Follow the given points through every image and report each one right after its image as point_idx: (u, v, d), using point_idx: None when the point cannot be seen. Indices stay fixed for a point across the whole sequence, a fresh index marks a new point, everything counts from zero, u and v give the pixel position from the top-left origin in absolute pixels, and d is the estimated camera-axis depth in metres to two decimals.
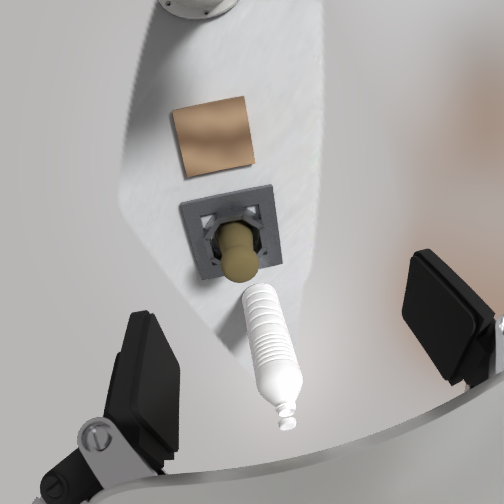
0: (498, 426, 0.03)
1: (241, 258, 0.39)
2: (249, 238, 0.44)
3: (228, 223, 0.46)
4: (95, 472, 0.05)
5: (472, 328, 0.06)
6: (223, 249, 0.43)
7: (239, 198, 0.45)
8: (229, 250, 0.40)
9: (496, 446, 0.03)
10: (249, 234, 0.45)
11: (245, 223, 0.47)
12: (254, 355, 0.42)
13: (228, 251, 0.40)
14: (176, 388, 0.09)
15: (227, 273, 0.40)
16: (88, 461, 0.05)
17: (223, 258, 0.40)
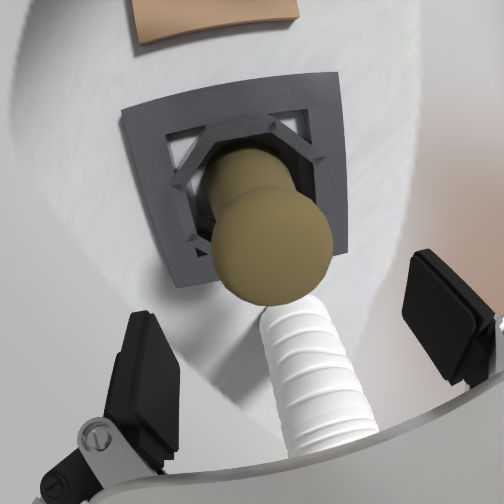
0: (498, 426, 0.03)
1: (284, 226, 0.11)
2: (291, 181, 0.16)
3: (234, 150, 0.18)
4: (95, 472, 0.05)
5: (472, 328, 0.06)
6: (221, 207, 0.15)
7: (261, 91, 0.17)
8: (240, 200, 0.12)
9: (497, 445, 0.03)
10: (288, 174, 0.17)
11: (275, 153, 0.19)
12: None
13: (237, 203, 0.12)
14: (176, 388, 0.09)
15: (234, 276, 0.12)
16: (88, 461, 0.05)
17: (220, 227, 0.12)
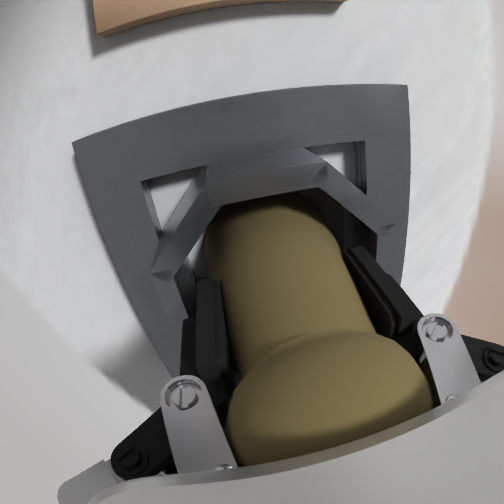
0: (498, 426, 0.03)
1: None
2: (350, 274, 0.10)
3: (253, 210, 0.12)
4: (168, 429, 0.06)
5: (391, 326, 0.07)
6: (237, 336, 0.08)
7: (296, 109, 0.10)
8: (287, 386, 0.05)
9: (497, 445, 0.03)
10: (341, 255, 0.11)
11: (315, 212, 0.12)
12: None
13: (281, 394, 0.05)
14: None
15: None
16: (164, 415, 0.06)
17: (245, 432, 0.05)
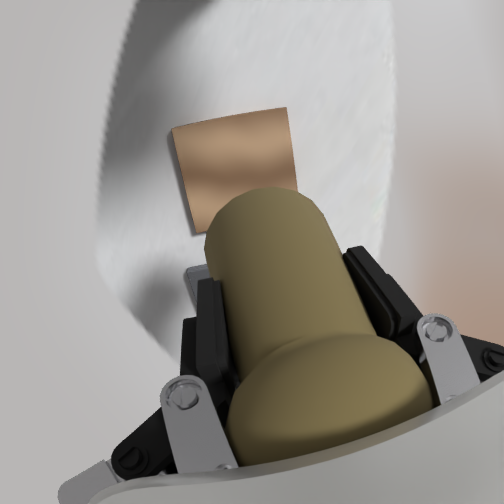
0: (498, 426, 0.03)
1: None
2: (350, 276, 0.10)
3: (253, 211, 0.12)
4: (168, 429, 0.06)
5: (390, 326, 0.07)
6: (237, 338, 0.08)
7: None
8: (288, 388, 0.05)
9: (497, 445, 0.03)
10: (342, 256, 0.11)
11: (315, 213, 0.12)
12: None
13: (281, 396, 0.05)
14: None
15: None
16: (165, 415, 0.06)
17: (245, 434, 0.05)
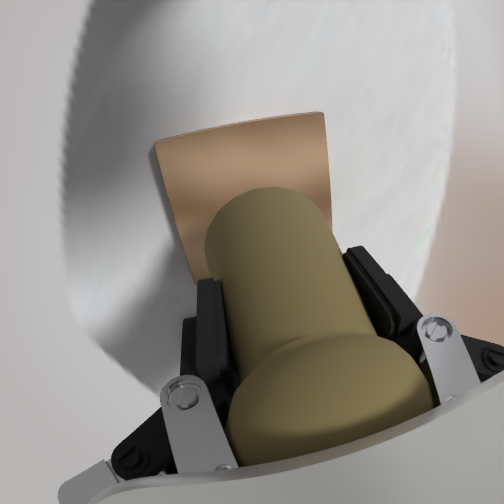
0: (498, 426, 0.03)
1: None
2: (350, 276, 0.10)
3: (253, 211, 0.11)
4: (168, 429, 0.06)
5: (390, 326, 0.07)
6: (237, 338, 0.08)
7: None
8: (288, 388, 0.05)
9: (497, 445, 0.03)
10: (342, 256, 0.11)
11: (316, 213, 0.12)
12: None
13: (281, 396, 0.05)
14: None
15: None
16: (165, 415, 0.06)
17: (245, 434, 0.05)
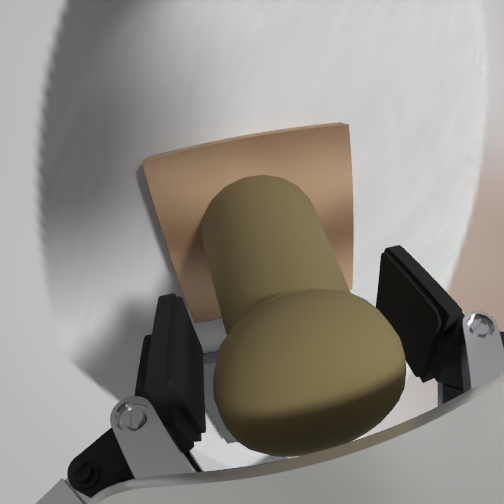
0: (498, 426, 0.03)
1: (343, 388, 0.05)
2: (330, 249, 0.11)
3: (243, 196, 0.13)
4: (124, 451, 0.05)
5: (437, 324, 0.07)
6: (226, 302, 0.09)
7: None
8: (262, 330, 0.06)
9: (497, 445, 0.03)
10: (324, 233, 0.12)
11: (301, 196, 0.13)
12: None
13: (256, 336, 0.06)
14: (201, 371, 0.10)
15: (254, 444, 0.06)
16: (119, 438, 0.06)
17: (227, 375, 0.06)
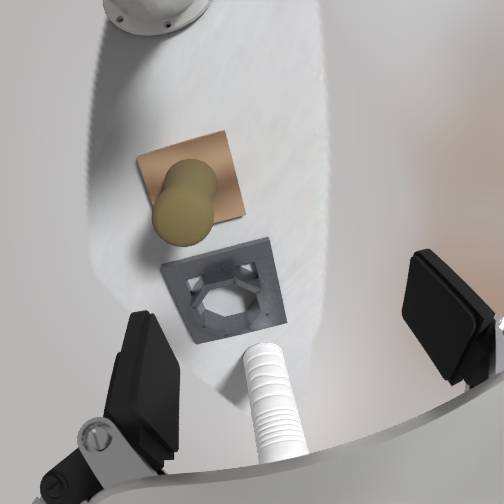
0: (498, 426, 0.03)
1: (178, 201, 0.22)
2: (204, 181, 0.28)
3: (176, 167, 0.30)
4: (95, 472, 0.05)
5: (472, 328, 0.06)
6: None
7: (229, 256, 0.37)
8: (162, 192, 0.23)
9: (497, 445, 0.03)
10: (205, 177, 0.29)
11: (202, 165, 0.30)
12: (256, 433, 0.34)
13: (160, 194, 0.23)
14: (176, 388, 0.09)
15: (160, 229, 0.23)
16: (88, 461, 0.05)
17: (153, 206, 0.23)
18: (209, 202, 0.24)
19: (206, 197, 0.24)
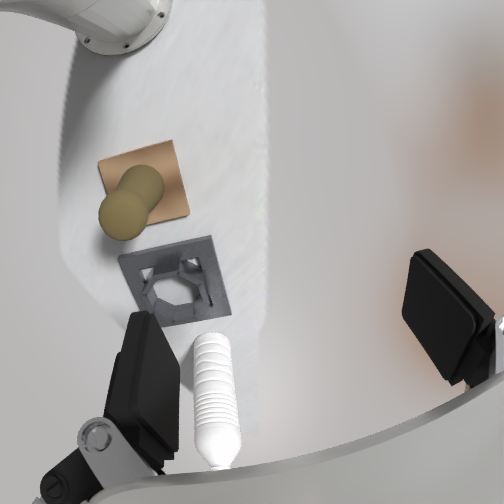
0: (498, 426, 0.03)
1: (116, 204, 0.26)
2: (146, 185, 0.31)
3: (128, 172, 0.33)
4: (95, 472, 0.05)
5: (472, 328, 0.06)
6: None
7: (176, 251, 0.41)
8: (107, 196, 0.27)
9: (497, 445, 0.03)
10: (149, 182, 0.32)
11: (149, 171, 0.34)
12: (194, 413, 0.38)
13: (105, 197, 0.27)
14: (176, 388, 0.09)
15: (103, 225, 0.27)
16: (88, 461, 0.05)
17: (100, 207, 0.27)
18: (143, 204, 0.28)
19: (140, 200, 0.27)
